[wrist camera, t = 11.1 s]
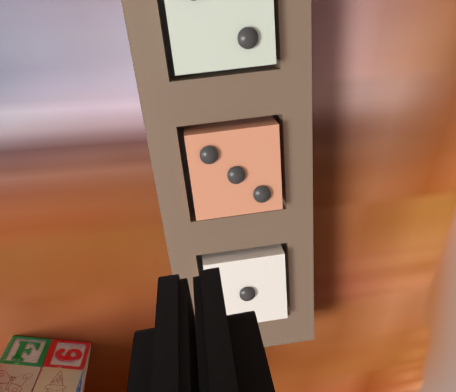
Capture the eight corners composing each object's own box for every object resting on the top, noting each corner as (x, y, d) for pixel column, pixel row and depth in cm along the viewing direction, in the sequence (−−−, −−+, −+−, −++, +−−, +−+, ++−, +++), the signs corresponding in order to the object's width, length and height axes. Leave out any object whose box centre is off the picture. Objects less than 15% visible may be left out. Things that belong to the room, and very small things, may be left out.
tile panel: (109, -100, 22) (99, -116, 19) (294, -116, 22) (310, -134, 20) (187, 331, 34) (187, 359, 32) (303, 313, 35) (314, 339, 32)
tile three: (183, 125, 26) (184, 136, 23) (270, 114, 26) (279, 125, 24) (194, 204, 28) (196, 222, 26) (274, 193, 28) (283, 210, 26)
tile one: (201, 246, 30) (203, 267, 27) (277, 236, 30) (285, 255, 28) (209, 307, 32) (212, 331, 30) (280, 297, 32) (288, 319, 30)
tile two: (159, -38, 22) (157, -44, 20) (262, -48, 22) (272, -55, 20) (175, 69, 24) (175, 76, 22) (267, 59, 25) (277, 64, 22)
